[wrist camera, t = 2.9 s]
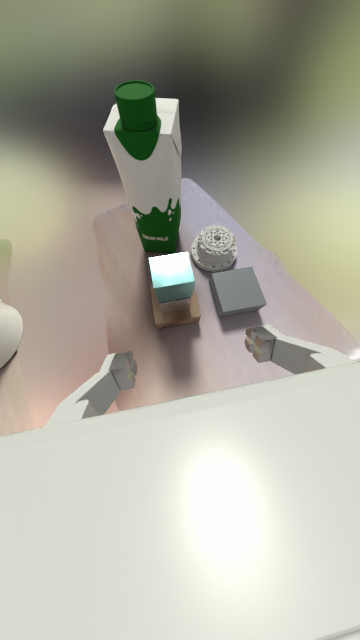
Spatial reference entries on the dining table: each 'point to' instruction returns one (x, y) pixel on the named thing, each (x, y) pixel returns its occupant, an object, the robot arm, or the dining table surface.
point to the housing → (172, 281)
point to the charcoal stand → (236, 292)
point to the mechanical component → (214, 249)
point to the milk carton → (148, 161)
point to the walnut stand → (174, 312)
